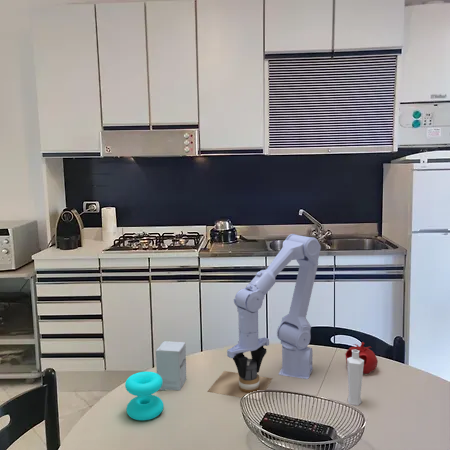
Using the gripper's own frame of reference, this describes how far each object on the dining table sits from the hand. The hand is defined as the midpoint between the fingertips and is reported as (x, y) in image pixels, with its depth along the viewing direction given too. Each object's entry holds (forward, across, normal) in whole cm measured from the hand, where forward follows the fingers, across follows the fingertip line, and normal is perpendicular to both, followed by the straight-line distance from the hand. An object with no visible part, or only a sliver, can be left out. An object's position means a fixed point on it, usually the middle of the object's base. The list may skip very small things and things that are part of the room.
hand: (249, 373), depth 138 cm
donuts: (+5, +30, -8) cm, 32 cm away
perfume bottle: (+5, -18, +24) cm, 31 cm away
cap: (+1, 0, 0) cm, 1 cm away
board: (+5, +1, -3) cm, 6 cm away
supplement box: (+5, +16, -17) cm, 24 cm away
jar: (+4, 0, 0) cm, 4 cm away
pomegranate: (+5, -36, +13) cm, 39 cm away
